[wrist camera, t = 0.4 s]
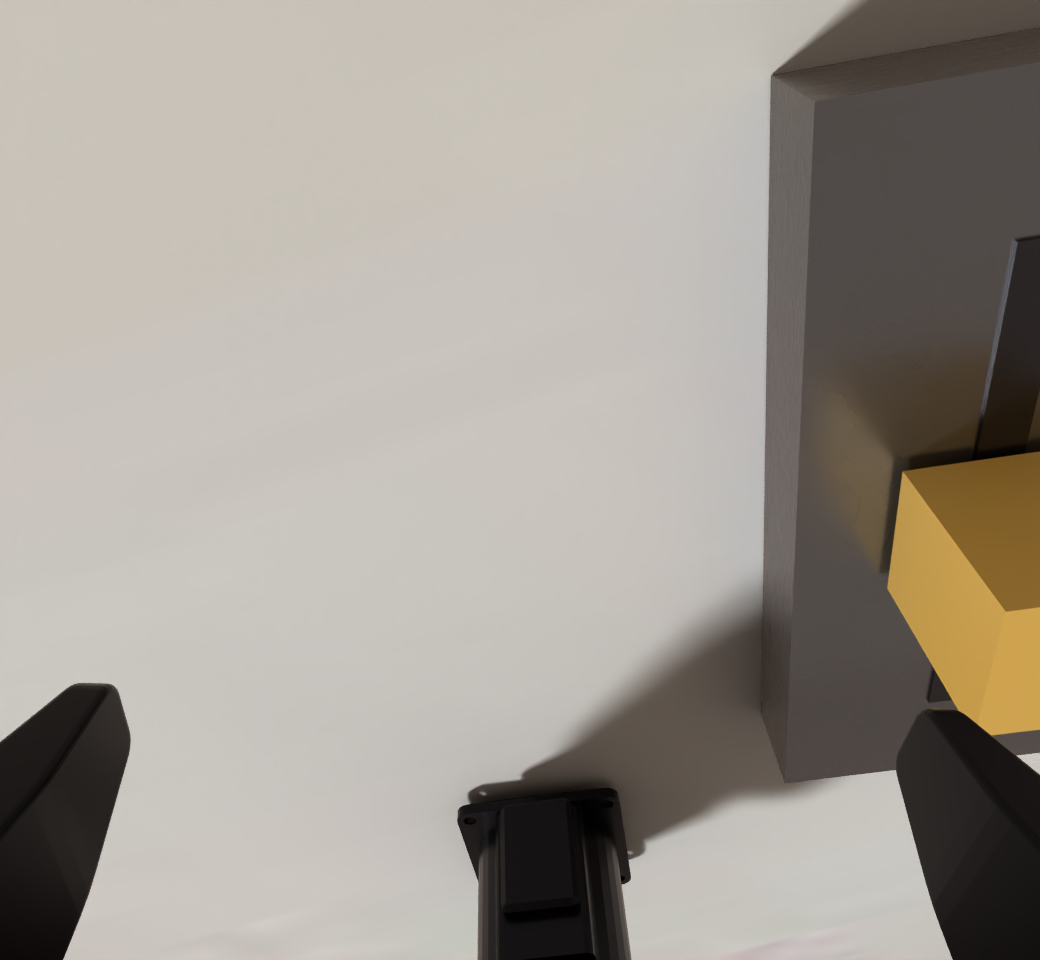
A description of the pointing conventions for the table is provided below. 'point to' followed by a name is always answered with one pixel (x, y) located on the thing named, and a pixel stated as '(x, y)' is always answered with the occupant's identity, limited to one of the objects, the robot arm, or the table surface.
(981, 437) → the power box
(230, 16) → the table surface
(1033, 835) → the robot arm
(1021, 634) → the handle
